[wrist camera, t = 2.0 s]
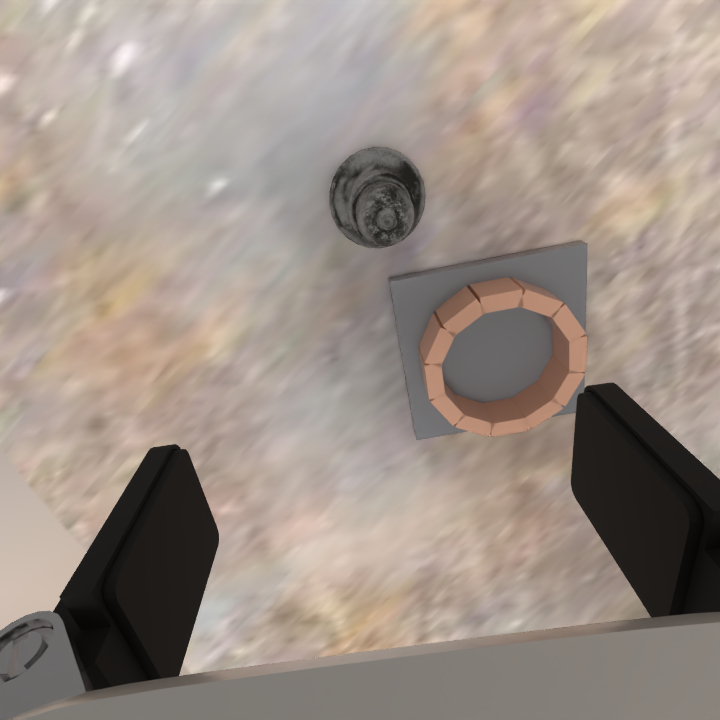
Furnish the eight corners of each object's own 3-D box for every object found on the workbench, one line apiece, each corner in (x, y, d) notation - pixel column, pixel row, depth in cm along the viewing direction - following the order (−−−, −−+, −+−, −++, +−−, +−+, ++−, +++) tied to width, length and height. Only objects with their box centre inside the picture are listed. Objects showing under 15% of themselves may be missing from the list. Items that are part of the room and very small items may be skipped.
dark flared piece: (317, 215, 32) (302, 255, 21) (353, 129, 30) (356, 125, 19) (393, 250, 33) (415, 305, 22) (432, 170, 31) (478, 188, 20)
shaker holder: (580, 240, 33) (609, 253, 30) (578, 404, 39) (601, 431, 36) (388, 278, 34) (393, 294, 31) (415, 433, 40) (421, 462, 37)
